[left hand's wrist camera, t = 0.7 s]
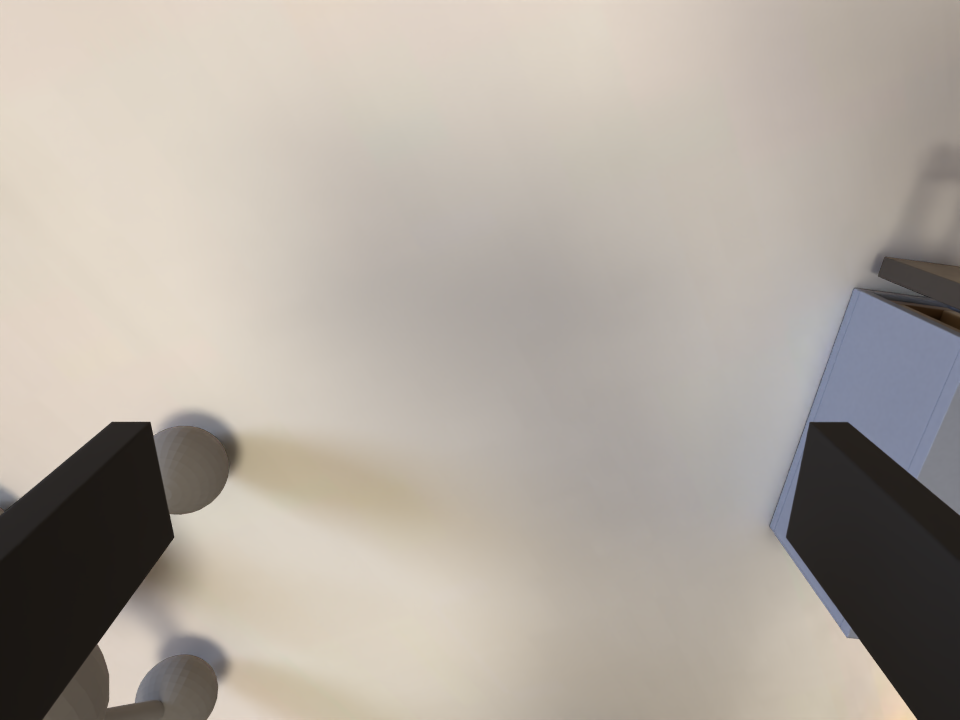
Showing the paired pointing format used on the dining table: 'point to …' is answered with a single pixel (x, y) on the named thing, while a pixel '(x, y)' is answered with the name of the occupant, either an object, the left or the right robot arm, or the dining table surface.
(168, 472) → the molecular model
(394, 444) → the dining table surface
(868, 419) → the cabinet
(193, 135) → the dining table surface
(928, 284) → the drawer
